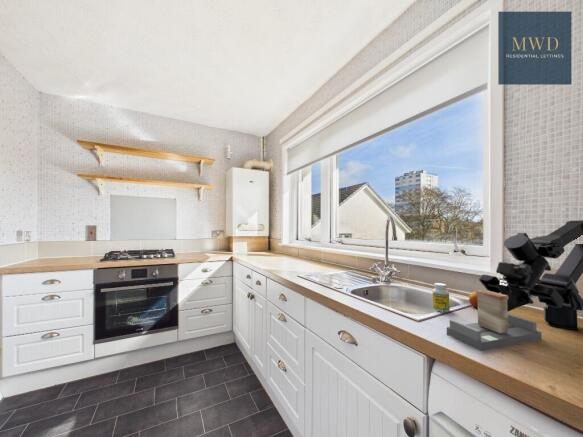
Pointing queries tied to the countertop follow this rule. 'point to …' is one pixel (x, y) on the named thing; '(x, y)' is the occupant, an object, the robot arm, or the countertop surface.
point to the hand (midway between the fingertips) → (502, 311)
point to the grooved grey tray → (495, 333)
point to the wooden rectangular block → (492, 311)
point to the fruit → (473, 299)
